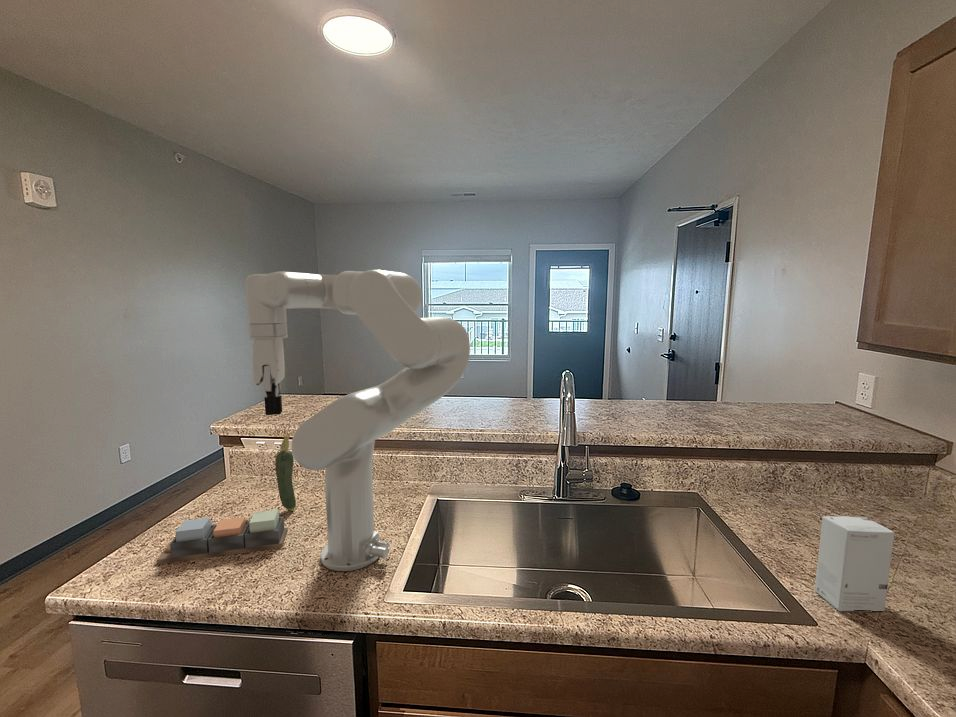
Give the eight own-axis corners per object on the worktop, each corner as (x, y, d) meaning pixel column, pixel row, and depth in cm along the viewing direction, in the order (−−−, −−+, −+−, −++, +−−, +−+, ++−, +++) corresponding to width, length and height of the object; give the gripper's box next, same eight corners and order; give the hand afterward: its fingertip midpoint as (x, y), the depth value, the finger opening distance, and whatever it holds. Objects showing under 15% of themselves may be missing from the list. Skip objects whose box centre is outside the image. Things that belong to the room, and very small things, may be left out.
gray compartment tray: (287, 531, 102) (286, 515, 101) (282, 547, 95) (281, 530, 95) (170, 546, 96) (169, 529, 95) (156, 564, 89) (154, 546, 89)
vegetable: (283, 516, 110) (278, 439, 107) (274, 511, 112) (269, 436, 110) (300, 509, 113) (295, 435, 111) (291, 505, 116) (286, 432, 113)
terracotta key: (246, 533, 99) (245, 516, 98) (240, 545, 94) (239, 527, 93) (222, 536, 98) (220, 519, 97) (214, 548, 93) (213, 530, 92)
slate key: (211, 534, 97) (210, 517, 96) (203, 546, 92) (202, 528, 92) (186, 537, 96) (184, 520, 95) (177, 549, 91) (175, 531, 90)
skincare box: (838, 612, 75) (847, 531, 73) (812, 590, 81) (819, 514, 79) (887, 613, 75) (897, 531, 73) (857, 590, 81) (866, 514, 79)
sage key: (279, 525, 100) (278, 509, 100) (275, 536, 96) (274, 519, 95) (255, 528, 99) (254, 512, 99) (250, 540, 94) (249, 522, 94)
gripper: (257, 330, 101) (262, 407, 103) (240, 334, 86) (247, 424, 89) (292, 329, 103) (296, 405, 105) (281, 333, 88) (287, 421, 91)
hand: (274, 413), depth 97 cm, fingers closed
